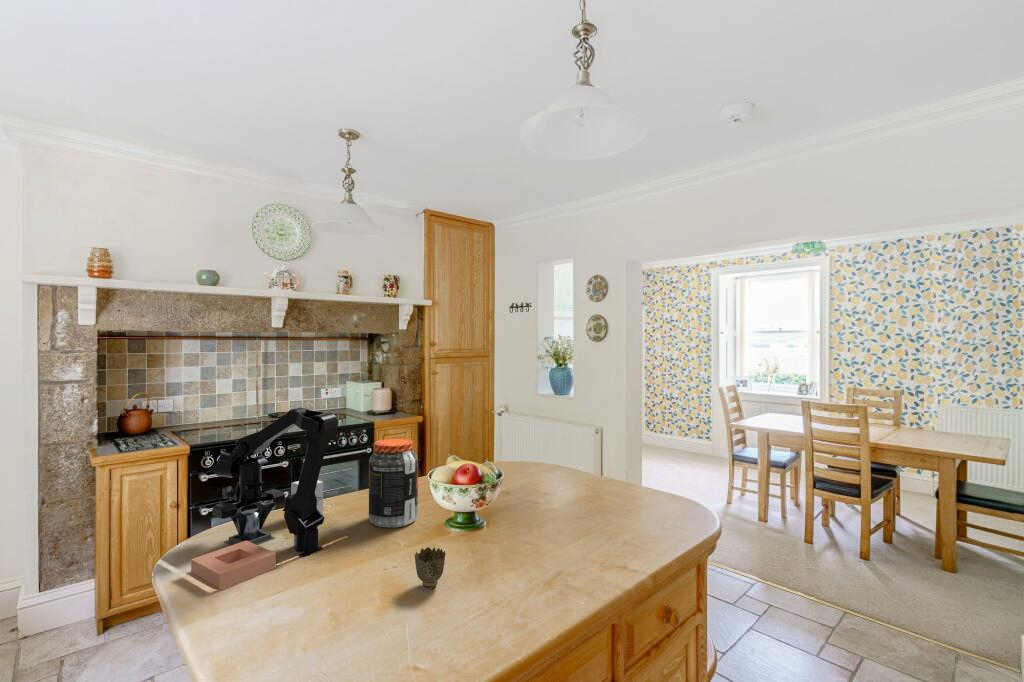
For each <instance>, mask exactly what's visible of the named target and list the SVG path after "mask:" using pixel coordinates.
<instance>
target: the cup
mask: <svg viewBox="0 0 1024 682" xmlns="http://www.w3.org/2000/svg"><path fill="white" fill-rule="evenodd" d="M446 555H447V553H446V551H445V550H444V551H443V549H442V548H441V549H440V547H437V549H436V547H433V548H431V547H429V546H427V547H425V549H424V548H423V547H422V548H421V549H420V552H418V551H415V554H414V562H415V571H416V575H417V577H418V579H419V580H420V581H421V584H422V586H423V588H425V589H433V588H435V587H437V585H438V580H440V579H441V577H442V576H443V573H444V569H445V561H446Z"/></svg>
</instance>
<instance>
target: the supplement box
mask: <svg viewBox="0 0 1024 682" xmlns="http://www.w3.org/2000/svg"><path fill="white" fill-rule="evenodd" d="M298 483H299V480H298V481H293V482H291V484H290V485H291V486H290V487H291V488H290V490H291V491H290V496H291V495H293V494H295V493H296V491H297V487H298ZM315 495H316V498H317V509H318V510H319V511H320V512H321V514H322V515H323V516H324V481H323V480H319V479H318V481H317V485H316V489H315ZM305 522H307V521H305ZM305 522H303V523H305Z"/></svg>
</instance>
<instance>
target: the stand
mask: <svg viewBox="0 0 1024 682" xmlns="http://www.w3.org/2000/svg"><path fill="white" fill-rule="evenodd" d="M275 539H277V537H275V536H272V534H271V533H269V532H266V531H264V530H262V529H260V537H259V538H256V539H253V540H250V541H249V542H251V543H253V544H256V545H258V546H260V545H261V544H262V545H263V544H264V543H267V542H269V541H272V540H275ZM240 542H243V541H241V540H240V535H239V534H238V533H237V534H234V535H231V536H229V537H228V539H227V540H225V541H223V543H225V544H227V545H229V546H231V545H234V544H237V543H240Z"/></svg>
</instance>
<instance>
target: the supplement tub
mask: <svg viewBox="0 0 1024 682" xmlns="http://www.w3.org/2000/svg"><path fill="white" fill-rule="evenodd" d="M413 444H414V441H413V440H412V439H408V438H396V437H395V438H385V439H380V440H376V441H375V442H374V446H373V450H374V451H373V453H372V454H371V456H370V457H369V460H368V518H369V522H370V523H371V524H372V525H373V526H376V527H378V528H379V527H380V528H399V527H404V526H407V525H410V524H411V523H413V522H415V520H416V519H417V518H418V514H419V513H418V511H419V510H418V509H419V507H418V506H419V505H418V504H419V498H418V495H419V459H418V458H419V457H418V455H417V453H416V452H415V450H413V449H414V445H413Z"/></svg>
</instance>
